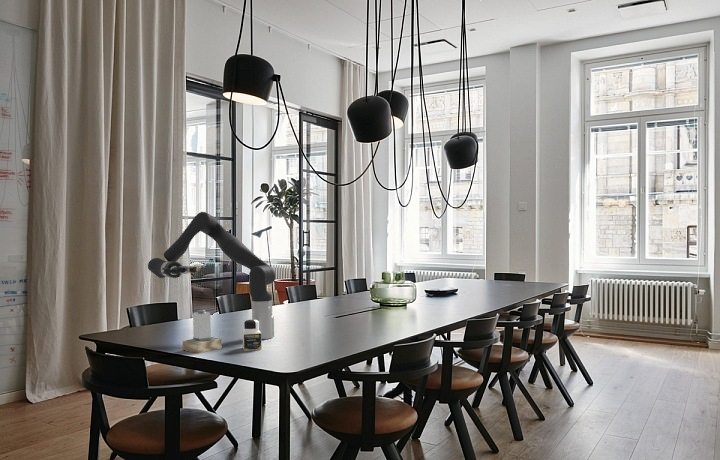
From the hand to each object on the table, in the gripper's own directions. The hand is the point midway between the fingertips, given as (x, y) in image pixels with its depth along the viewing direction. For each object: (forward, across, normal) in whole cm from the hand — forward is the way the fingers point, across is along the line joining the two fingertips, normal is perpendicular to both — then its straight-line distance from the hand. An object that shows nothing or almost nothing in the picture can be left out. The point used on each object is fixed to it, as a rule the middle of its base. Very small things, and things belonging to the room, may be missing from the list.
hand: (185, 270), depth 257 cm
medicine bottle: (+31, +15, +32) cm, 47 cm away
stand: (+18, -1, +32) cm, 37 cm away
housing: (+18, -1, +28) cm, 33 cm away
